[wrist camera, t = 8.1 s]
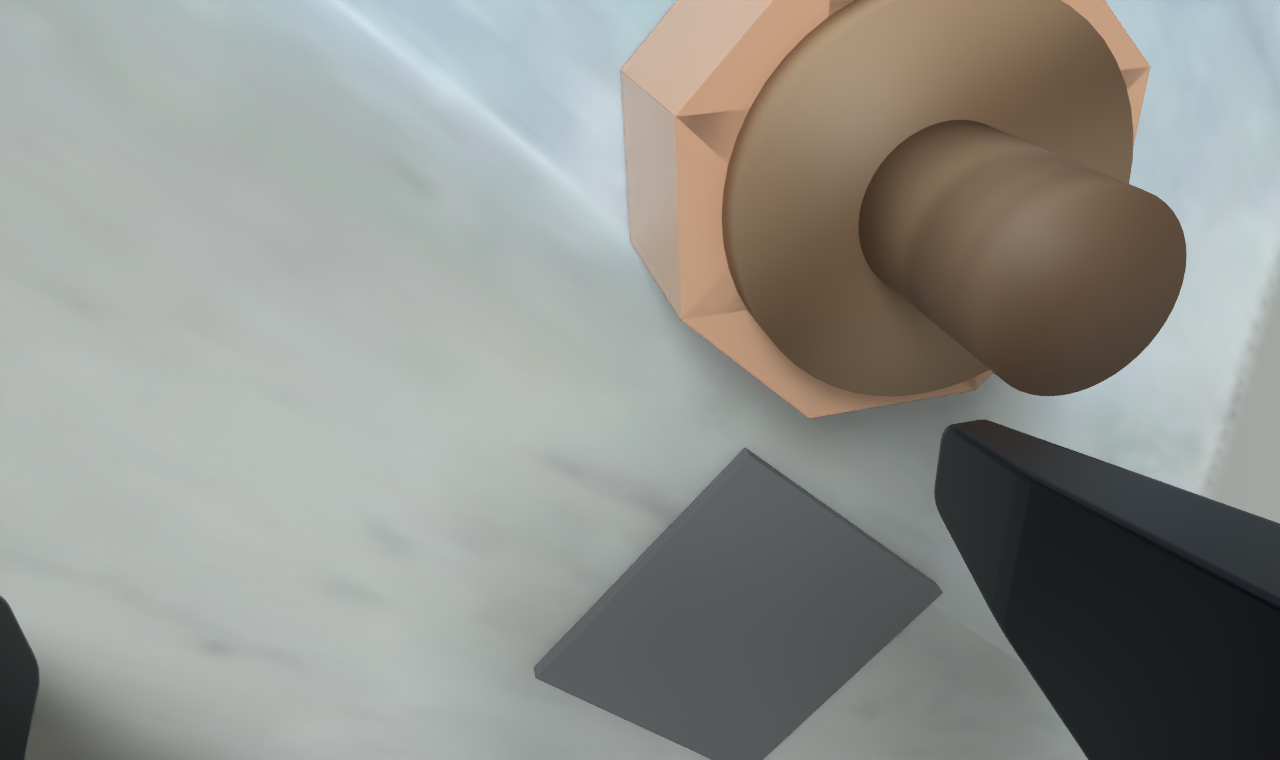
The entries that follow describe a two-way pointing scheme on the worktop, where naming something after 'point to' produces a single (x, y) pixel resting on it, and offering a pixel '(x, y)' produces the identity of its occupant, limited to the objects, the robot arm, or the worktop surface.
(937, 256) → the lid
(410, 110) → the worktop surface
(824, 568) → the mat
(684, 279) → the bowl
